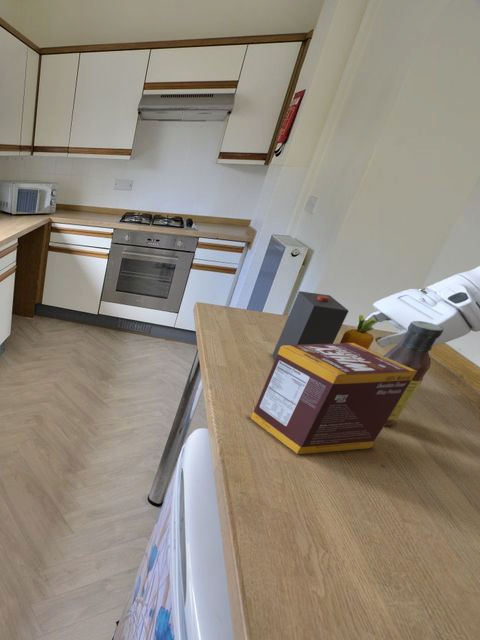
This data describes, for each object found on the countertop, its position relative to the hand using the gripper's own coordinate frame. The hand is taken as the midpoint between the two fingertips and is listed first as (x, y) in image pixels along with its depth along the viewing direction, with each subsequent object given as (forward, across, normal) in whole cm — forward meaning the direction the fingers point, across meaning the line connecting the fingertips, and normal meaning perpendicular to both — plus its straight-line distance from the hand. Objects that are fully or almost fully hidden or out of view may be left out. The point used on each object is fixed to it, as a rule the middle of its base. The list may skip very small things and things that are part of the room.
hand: (368, 334), depth 89 cm
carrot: (+9, 0, +7) cm, 11 cm away
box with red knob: (+11, 0, +4) cm, 12 cm away
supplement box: (+18, +30, -3) cm, 35 cm away
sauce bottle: (+9, +18, +7) cm, 21 cm away
